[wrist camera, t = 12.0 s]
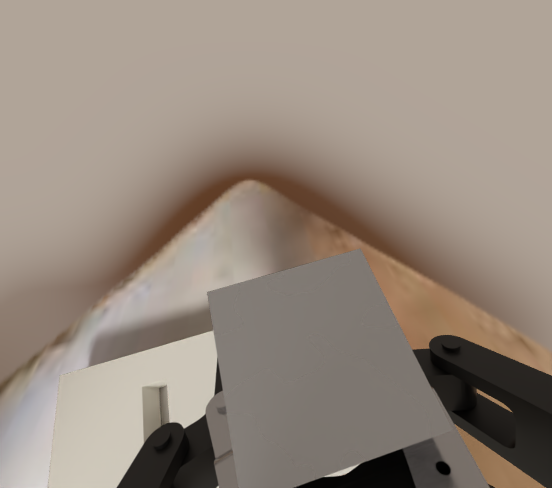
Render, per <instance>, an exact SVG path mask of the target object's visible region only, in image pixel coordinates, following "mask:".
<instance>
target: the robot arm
mask: <svg viewBox="0 0 552 488" xmlns="http://www.w3.org/2000/svg"><path fill="white" fill-rule="evenodd" d="M412 351H413V353H414V355H415V357H416V359H417V361H418V363H419V365H420V367H421V369H422V371H423V372H424V374H425V376H426V378H427V380H428V382H429V384H430V386H431V388H432V390H433V392H434V394H435V396H436V398H437V400H438V402H439V404H440V406H441V408H442V410H443V412H444V414H445V416H446V418H447V420H448V422H449V424H450V426H451V428H452V429H453V430H452V431H449V432H446V433H444V434H441V435H438V436H435V437H433V438H430V439H427V440H424V441H421V442H419V443H416V444H413V445H410V446H408V447H405V448H402V449H399V450H396V451H394V452H391V453H388V454H385V455H383V456H380V457H377V458H374V459H371V460H369V461H366V462H363V463H361V464H359V465H358V466H357V467H355V468H354V469H353V470H351V471H350V472H349V473H347V474H346V475H343V476H330V477H322V478H319V479H316V480H313V481H310V482H308V483H305V484H302V485H299V486H297V487H294V488H495V487H493V486H491V485H489V484H487V482H486V480H485V478H484V477H483V475H482V473H481V471H480V469H479V468H478V466H477V464H476V462H475V461H474V459H473V457H472V455H471V453H470V452H469V450H468V448H467V446H466V445H465V443H464V441H463V439H462V437H461V436H460V434H459V432H458V430H457V429H456V427H455V425H454V424H456V425H457V426H459V427H460V428H461V429H463V430H464V431H466V432H467V433H469V434H470V435H471V436H473V437H474V438H476V439H477V440H479V441H480V442H481V443H483V444H484V445H486V446H487V447H489V448H490V449H491V450H493V451H494V452H496V453H497V454H499V455H500V456H501V457H503V458H504V459H506V460H507V461H509V462H510V463H512V464H513V465H514V466H516V467H517V468H519V469H520V470H522V471H523V472H524V473H526V474H527V475H529V476H530V477H532V478H533V479H534V480H536V481H537V482H539V483H540V484H542V485H543V486H544V487H546V488H552V376H551V375H549V374H546V373H544V372H541V371H539V370H537V369H534V368H532V367H530V366H527V365H525V364H522V363H520V362H518V361H515V360H513V359H510V358H508V357H506V356H503V355H501V354H499V353H496V352H494V351H491V350H489V349H487V348H484V347H482V346H480V345H477V344H475V343H472V342H470V341H468V340H465V339H463V338H460V337H457V336H452V335H441V336H437V337H434V338H433V339H432V340H431V341H430V343H429V349H417V350H412ZM476 388H477V389H478V390H480V391H482V392H484V393H486V394H488V395H489V396H491V397H493V398H495V399H497V400H498V401H500V402H502V403H504V404H505V405H506V406H507V407H508V408H509V409H510V410H511V411H512V412H513V413H512V412H510V411H508V410H506V409H505V408H503V407H501V406H499V405H497V404H496V403H494V402H492V401H490V400H489V399H487V398H485V397H483V396H481V395H480V394H478V393H477V390H476ZM205 413H206V414H205V415H204V416H203V417H201V418H200V419H199V420H197V421H196V422H194V423H192V424H191V425H189V426H188V427H186V428H183V426H182V425H181V424H180V423H177V422H171V423H167V424H165V425H163V426H161V427H159V428H158V429H156V430H155V431H154V432H153V433H152V434H151V435H150V436H149V437H148V438H147V440H146V441H145V443H144V444H143V446H142V447H141V449H140V451H139V452H138V454H137V455H136V457H135V459H134V460H133V462H132V464H131V465H130V467H129V468H128V470H127V472H126V473H125V475H124V476H123V478H122V480H121V481H120V483H119V485H118V486H117V488H216V487H218V486H219V488H239V486H238V480H237V474H236V468H235V461H234V455H233V449H232V443H231V437H230V431H229V424H228V418H227V412H226V406H225V400H224V394H223V388H222V381H221V375H220V369H219V363H218V357H217V368H216V380H215V392H214V397H213V398H212V399H211V400H210V401H209V403H208V404H207V407H206V411H205Z"/></svg>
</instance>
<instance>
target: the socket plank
mask: <svg viewBox="0 0 552 488" xmlns="http://www.w3.org/2000/svg"><path fill="white" fill-rule="evenodd" d="M216 368H217V351H216V344H215V338H214V332H213V331H210V332H206V333H203V334H199V335H196V336H193V337H189V338H186V339H182V340H179V341H176V342H172V343H169V344H165V345H162V346H159V347H155V348H152V349H148V350H145V351H142V352H138V353H135V354H131V355H128V356H125V357H121V358H118V359H114V360H111V361H108V362H104V363H101V364H97V365H94V366H91V367H87V368H84V369H80V370H77V371H74V372H70V373H67V374H63V375H60V377H59V386H58V396H57V405H56V414H55V423H54V433H53V442H52V451H51V460H50V470H49V479H48V488H117V486H118V485H119V483H120V481H121V480H122V478H123V476H124V475H125V473H126V472H127V470H128V468H129V467H130V465H131V464H132V462H133V460H134V459H135V457H136V455H137V454H138V452H139V451H140V449H141V447H142V446H143V444H144V443H145V441H146V440H147V438H148V437H149V436H150V435H151V434H152V433H153V432H154V431H155V430H156V429H158V428H159V427H161V411H160V393H159V388H161V387H164V386H167V392H168V406H169V420H170V423H171V422H177V423H180V424H181V425H182V426H183V428H186V427H188V426H189V425H191V424H192V423H194V422H196V421H197V420H199V419H200V418H201V417H203V416H204V415H205V414H206V413H205V411H206V407H207V404H208V403H209V401H210V400H211V399H212V398H213V397H214V392H215V380H216ZM360 464H361V463H360ZM358 465H359V464H358ZM358 465H355V466H352V467H349V468H346V469H344V470H341V471H338V472H335V473H333V474H330V475H327V476H324V477H330V476H339V475H342V474H345V473H347V472H350V471H351V470H353V469H354V468H355V467H357V466H358ZM216 488H219V486H218V487H216Z"/></svg>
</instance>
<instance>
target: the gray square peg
mask: <svg viewBox="0 0 552 488" xmlns="http://www.w3.org/2000/svg"><path fill="white" fill-rule="evenodd" d="M207 295H208V301H209V308H210V314H211V320H212V326H213V332H214V338H215V344H216V351H217V357H218V363H219V369H220V375H221V381H222V388H223V394H224V400H225V406H226V412H227V418H228V424H229V431H230V437H231V443H232V449H233V455H234V461H235V468H236V474H237V480H238V486H239V488H294V487H297V486H299V485H302V484H305V483H308V482H310V481H313V480H316V479H319V478H322V477H324V476H327V475H330V474H333V473H335V472H338V471H341V470H344V469H346V468H349V467H352V466H355V465H358V464H360V463H363V462H366V461H369V460H371V459H374V458H377V457H380V456H383V455H385V454H388V453H391V452H394V451H396V450H399V449H402V448H405V447H408V446H410V445H413V444H416V443H419V442H421V441H424V440H427V439H430V438H433V437H435V436H438V435H441V434H444V433H446V432H449V431H452V430H453V429H452V428H451V426H450V424H449V422H448V420H447V418H446V416H445V414H444V412H443V410H442V408H441V406H440V404H439V402H438V400H437V398H436V396H435V394H434V392H433V390H432V388H431V386H430V384H429V382H428V380H427V378H426V376H425V374H424V372H423V371H422V369H421V367H420V365H419V363H418V361H417V359H416V357H415V355H414V353H413V351H412V349H411V347H410V345H409V343H408V341H407V339H406V337H405V335H404V333H403V331H402V329H401V327H400V325H399V323H398V321H397V319H396V317H395V315H394V314H393V312H392V310H391V308H390V306H389V304H388V302H387V300H386V298H385V296H384V294H383V292H382V290H381V288H380V286H379V284H378V282H377V280H376V278H375V276H374V274H373V272H372V270H371V268H370V266H369V264H368V262H367V260H366V258H365V257H364V255H363V253H362V251H361V249H357V250H354V251H350V252H347V253H343V254H340V255H336V256H333V257H329V258H325V259H322V260H318V261H315V262H311V263H308V264H304V265H301V266H297V267H294V268H290V269H287V270H283V271H280V272H276V273H273V274H269V275H266V276H262V277H259V278H255V279H252V280H248V281H245V282H241V283H238V284H234V285H231V286H227V287H224V288H220V289H217V290H213V291H210V292H207Z"/></svg>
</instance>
